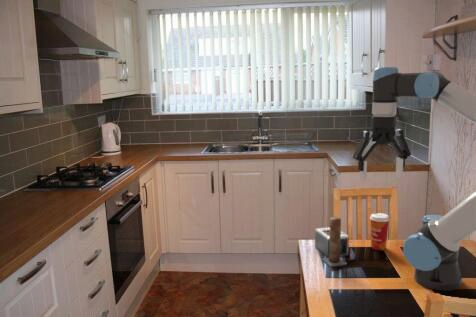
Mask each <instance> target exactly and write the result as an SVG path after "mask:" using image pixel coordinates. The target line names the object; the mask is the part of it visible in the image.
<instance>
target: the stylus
mask: <svg viewBox="0 0 476 317" xmlns="http://www.w3.org/2000/svg"><path fill="white" fill-rule="evenodd" d="M341 226H342V218H341V217H337V216H332V217H330V218H329V227H330V232H329V236H330V244H329V261H330V262H332V263H338V262H339V261H340V258H341V256H340V235H341V231H342V229H341V228H342V227H341Z"/></svg>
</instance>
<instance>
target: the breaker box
mask: <svg viewBox="0 0 476 317" xmlns="http://www.w3.org/2000/svg"><path fill="white" fill-rule="evenodd" d="M314 232H315V234H314V247H315V248H316V249H317V250H318V251H319V252H321V254H323V255H324V256H325V258H329V244H330V235H328V234H327V233H330V226H327V227H318V228H314ZM349 243H350V236H349V235H348V234H346V233H345V232H344V231H342V230H341V235H340V257H345V256H349V248H350V247H349V245H350V244H349Z"/></svg>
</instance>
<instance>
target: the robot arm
mask: <svg viewBox="0 0 476 317" xmlns="http://www.w3.org/2000/svg"><path fill="white" fill-rule="evenodd" d="M372 76H373V77H372V100H371V101H372V102H371V104H372V107H371V114H372V115H373V116H371V131H367V130H363V131H362V136H361V138H360V140H359V143H358V145H357V147H356V148H355V151H354V153H353V156H352V159H354V160H355V161H358V165H357V166H358V167H357V169H358V172H359V180H360V181H361V182H367V172H368V171H367V170H368V168H367V166H368V165H367V164H368V161H366V159H368V157H369V156H370V155H371V153H372V152H373V150H374V149H375V148H376V147H378V145H384V144H385V145H390V147H391V148H392V150H393V151H394V152H395V154H396V155H397V156H398V157H396V160H395V162H396V163H395V164H396V165H395V177H396V178H400V179H403V172H404V168H406V167H405V166H406V160H407V159H408V157H411V155H412V153H411V151H410V148H409V145H408V143H407V141H406V138H405V136H404V135H405V134H404V130H403V129H400V128H396V126H397V124H396V123H397V117H396V116H395V115H396V114H397V107H398V106H397V101H398V100H397V99H398V98H419V99H428V98H429V99H431V100H433V101H435V102H437V103H439V104H441V105H442V106H444V107H446V108H447V109H449V110H450V111H452V112H454V113H456V114H457V115H458V116H461V117H462V118H463V119H466V120H468V121H469V122H471V123H472V124H474V125H476V94H475V93H473V92H471V91H469V90H467V89H466V88H464V87H462V86H461V85H458V84H457V83H455V82H453V81H451V80H450V79H448V78H447V77H446V76H445V75H444V74H442V73H441V72H438V71H430V72H427V71H426V72H407V73H406V72H404V73H402V72H399V68H398V67H397V66H395V67H394V66H385V67H376V68H374V70H373V75H372ZM395 136H396V139H395V138H394V137H395ZM370 138H371V139H370ZM397 141H398V143H397ZM474 232H476V190H475V191H474V192H472V193H471V194H470V195H468V196H467V197H465V199H463V200H462V201H461V202H459V203H458V204H457V205H456V206H454V208H452V209H451V210H450V211H448V212H447V213H446V214H445V215H439V214H427V215H423V219H422V226H420V228H418V229H417V230H416V231H415V232H414V233H412V234H411V235H408V236H407V237H406V239H405V240H404V242H403V245H402V252H403V255H404V258H405V260H406V261H407V262H408V263H409V265H411V266H412V267H413V268H415V269H414V276H413V277H414V278H413V279H414V280H415V281H416V283H418V284H420V285H421V286H424V287H425V288H429V289H431V290H437V291H447V292H449V291H456V290H458V289H460V288H461V287H462V284H463V277H462V273H461V270H460V265H459V262H458V260H459V253H460V252H459V250H460V246H461V244H460V243H461V242H462V241H463V240H465V239H466V238H467V237H469V236H470V235H472V234H474Z"/></svg>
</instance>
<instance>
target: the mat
mask: <svg viewBox="0 0 476 317" xmlns="http://www.w3.org/2000/svg"><path fill="white" fill-rule="evenodd" d="M321 260H322V261H323V263H325V264H326V265H327V266H328V267H329V268H333V267H334V268H335V267H341V266H347V265H348V263H347V262H346V261H344V259H342V258H341V257H340V261H339V262H338V263H332V262H330V261H329V258H327V257H323V258H321Z"/></svg>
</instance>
